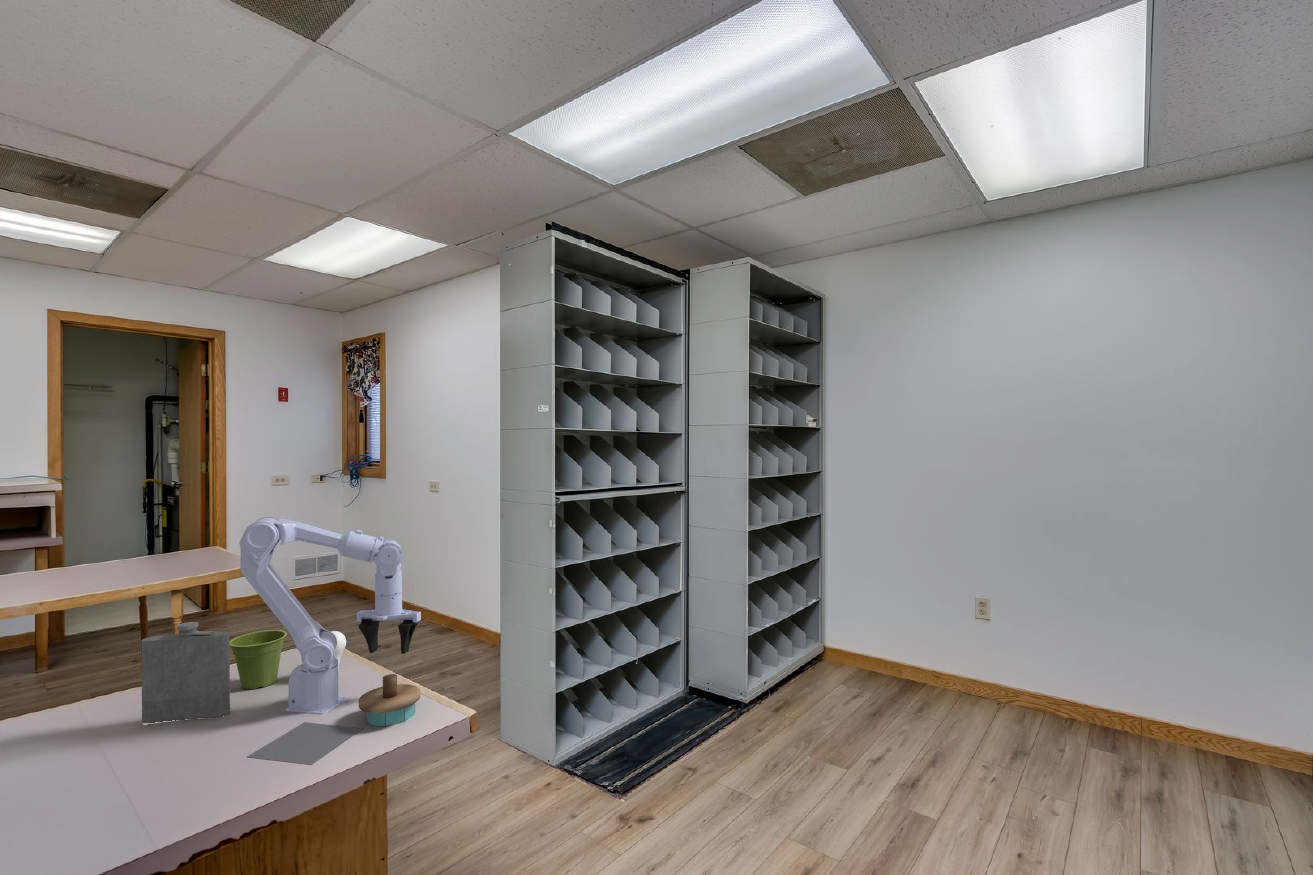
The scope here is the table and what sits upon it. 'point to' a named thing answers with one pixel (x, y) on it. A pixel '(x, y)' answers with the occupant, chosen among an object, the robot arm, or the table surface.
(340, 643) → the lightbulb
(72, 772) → the table surface
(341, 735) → the mat
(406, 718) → the bowl
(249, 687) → the plant pot
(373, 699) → the lid
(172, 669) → the hip flask
